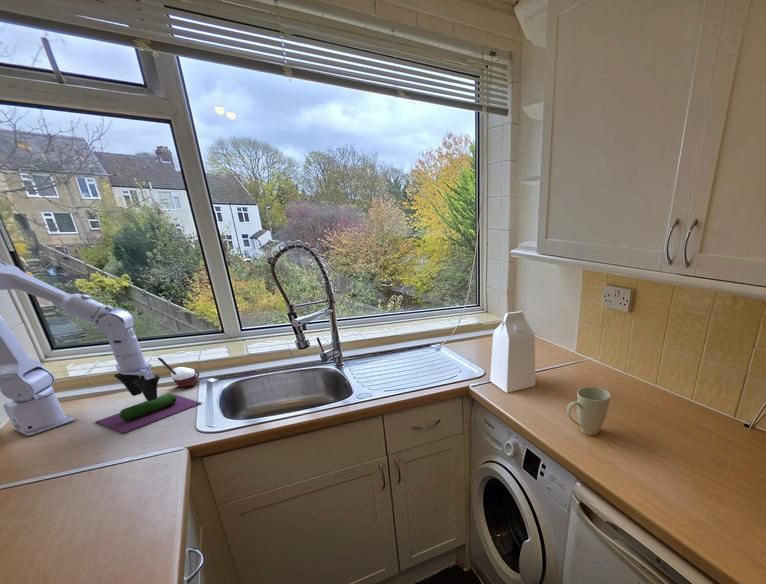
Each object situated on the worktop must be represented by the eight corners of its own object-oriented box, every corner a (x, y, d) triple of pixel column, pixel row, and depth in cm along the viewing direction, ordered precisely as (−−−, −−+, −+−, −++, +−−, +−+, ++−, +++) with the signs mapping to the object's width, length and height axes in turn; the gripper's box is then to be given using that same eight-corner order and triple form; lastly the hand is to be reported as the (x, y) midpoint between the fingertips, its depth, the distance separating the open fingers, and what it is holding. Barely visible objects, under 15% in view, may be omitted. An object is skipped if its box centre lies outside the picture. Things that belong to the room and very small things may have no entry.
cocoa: (200, 379, 143) (190, 347, 138) (204, 384, 139) (194, 352, 134) (166, 387, 137) (154, 353, 132) (170, 393, 133) (158, 358, 128)
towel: (123, 433, 110) (123, 432, 110) (95, 422, 115) (95, 421, 115) (201, 403, 127) (200, 402, 126) (173, 395, 132) (173, 394, 131)
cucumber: (126, 424, 114) (122, 413, 113) (118, 420, 115) (114, 409, 114) (180, 403, 126) (177, 394, 124) (173, 400, 127) (170, 390, 125)
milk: (517, 374, 153) (519, 307, 143) (535, 385, 145) (538, 314, 134) (490, 381, 147) (490, 310, 137) (506, 392, 139) (508, 318, 128)
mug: (576, 419, 122) (580, 383, 117) (609, 428, 118) (614, 390, 113) (563, 436, 113) (567, 398, 108) (598, 446, 109) (603, 406, 104)
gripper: (159, 353, 114) (175, 396, 119) (130, 345, 119) (146, 387, 124) (129, 361, 108) (147, 406, 113) (100, 352, 113) (118, 396, 119)
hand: (144, 397), depth 119 cm, fingers open, 7 cm apart
